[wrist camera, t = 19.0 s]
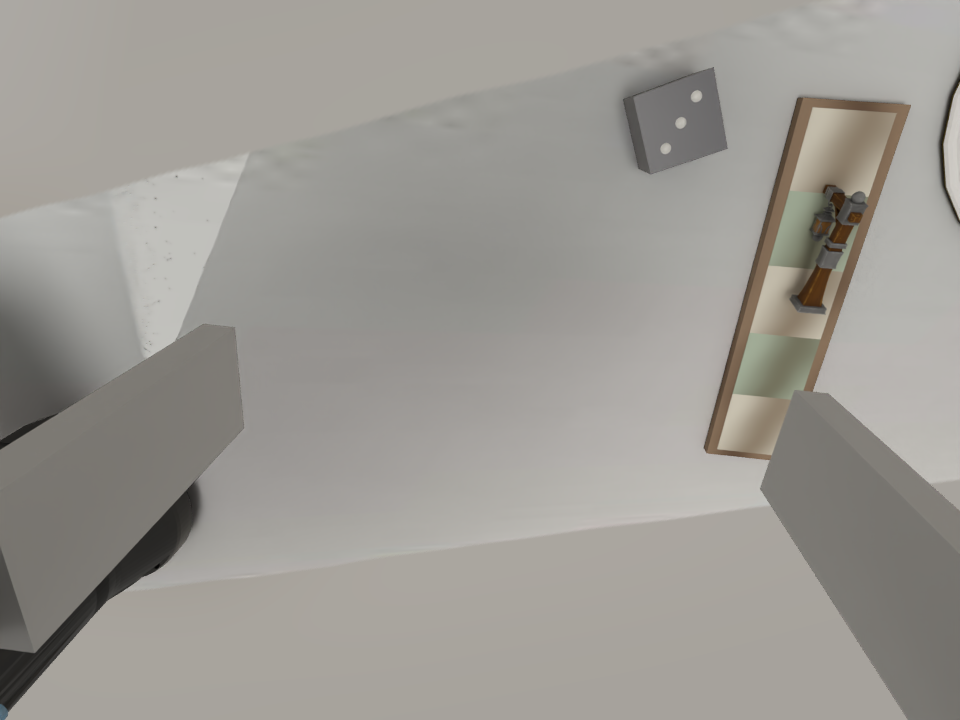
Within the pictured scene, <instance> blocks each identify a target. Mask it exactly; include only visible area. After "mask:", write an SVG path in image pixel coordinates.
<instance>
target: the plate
mask: <svg viewBox="0 0 960 720" xmlns="http://www.w3.org/2000/svg"><path fill="white" fill-rule="evenodd" d="M942 154H943V170H944V185H945V189H946V191H947V194H948V196H949V198H950V201H951V203H952V206H953V208H954V211H955V213H956V216H957V218H958V220H959V222H960V81H959V83H958V85H957V87H956V89H955V91H954V93H953V95H952V99H951V103H950V108H949V113H948V118H947V122H946V127H945V132H944V136H943V141H942Z"/></svg>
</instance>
